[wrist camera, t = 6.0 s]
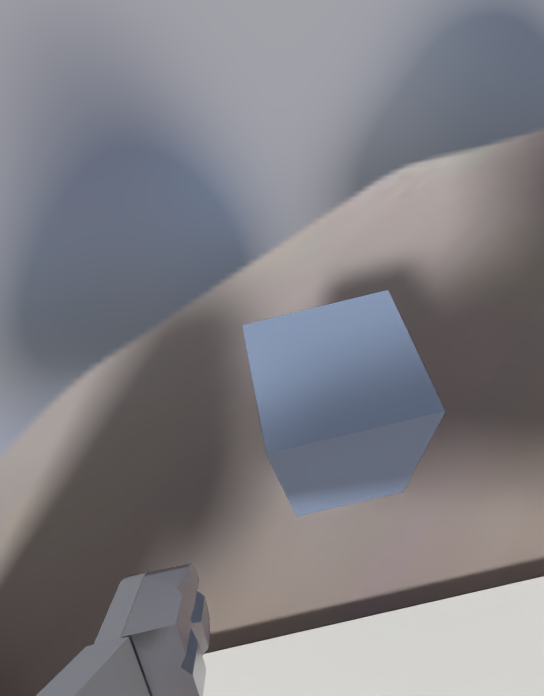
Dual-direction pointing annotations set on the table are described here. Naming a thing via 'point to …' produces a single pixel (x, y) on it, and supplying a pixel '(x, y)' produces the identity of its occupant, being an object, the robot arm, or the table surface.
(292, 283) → the table surface
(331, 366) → the slate-blue block
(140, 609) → the robot arm
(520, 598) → the letter board
